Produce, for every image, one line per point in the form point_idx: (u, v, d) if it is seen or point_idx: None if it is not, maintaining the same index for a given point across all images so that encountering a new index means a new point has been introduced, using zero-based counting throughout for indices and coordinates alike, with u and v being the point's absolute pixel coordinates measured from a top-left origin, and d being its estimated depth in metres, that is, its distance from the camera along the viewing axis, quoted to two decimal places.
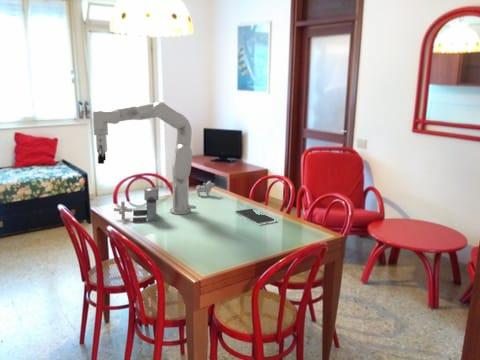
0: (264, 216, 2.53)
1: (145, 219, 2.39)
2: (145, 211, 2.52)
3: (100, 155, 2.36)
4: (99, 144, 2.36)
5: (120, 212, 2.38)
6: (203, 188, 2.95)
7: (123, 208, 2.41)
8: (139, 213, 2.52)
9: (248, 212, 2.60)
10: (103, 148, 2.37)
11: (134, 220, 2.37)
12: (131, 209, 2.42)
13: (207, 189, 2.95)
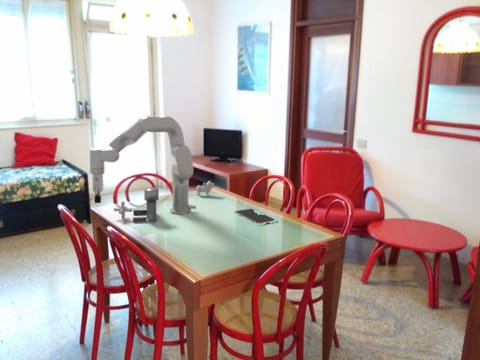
0: (264, 216, 2.54)
1: (145, 219, 2.39)
2: (145, 211, 2.52)
3: (97, 195, 2.35)
4: (95, 183, 2.31)
5: (120, 212, 2.38)
6: (203, 188, 2.95)
7: (123, 208, 2.41)
8: (139, 213, 2.52)
9: (247, 212, 2.60)
10: (99, 191, 2.33)
11: (134, 220, 2.37)
12: (131, 209, 2.42)
13: (207, 189, 2.95)
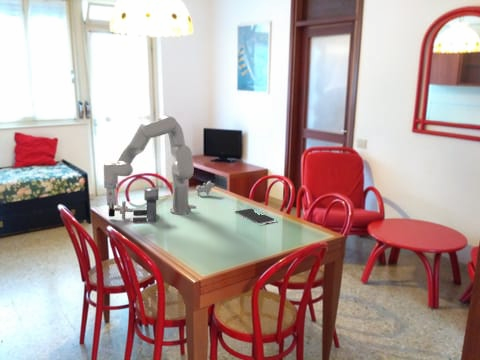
0: (264, 216, 2.54)
1: (145, 219, 2.39)
2: (145, 211, 2.52)
3: (111, 209, 2.38)
4: (109, 197, 2.34)
5: (121, 212, 2.38)
6: (203, 188, 2.95)
7: (124, 208, 2.41)
8: (139, 213, 2.52)
9: (247, 212, 2.60)
10: (113, 205, 2.37)
11: (134, 220, 2.37)
12: (132, 209, 2.42)
13: (207, 189, 2.95)
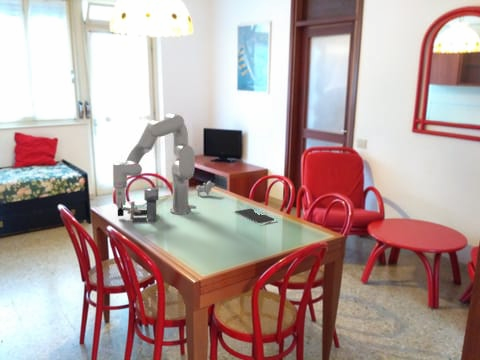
0: (264, 216, 2.54)
1: (145, 219, 2.39)
2: (145, 211, 2.52)
3: (120, 208, 2.39)
4: (119, 197, 2.35)
5: (128, 212, 2.38)
6: (203, 188, 2.95)
7: (132, 208, 2.42)
8: (139, 213, 2.52)
9: (247, 212, 2.60)
10: (123, 204, 2.38)
11: (134, 220, 2.37)
12: (140, 210, 2.42)
13: (207, 189, 2.95)
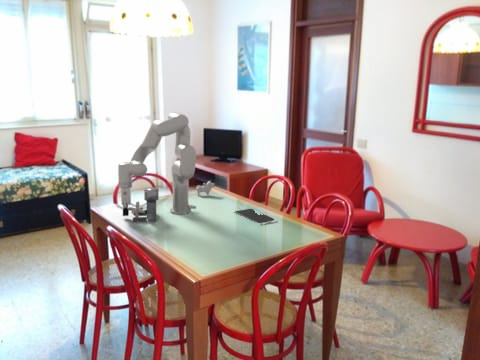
0: (264, 216, 2.54)
1: (145, 219, 2.39)
2: None
3: (125, 208, 2.40)
4: (124, 197, 2.36)
5: (132, 212, 2.38)
6: (203, 188, 2.95)
7: (137, 208, 2.42)
8: (139, 213, 2.52)
9: (247, 212, 2.60)
10: (128, 204, 2.38)
11: (134, 220, 2.37)
12: (144, 210, 2.41)
13: (207, 189, 2.95)
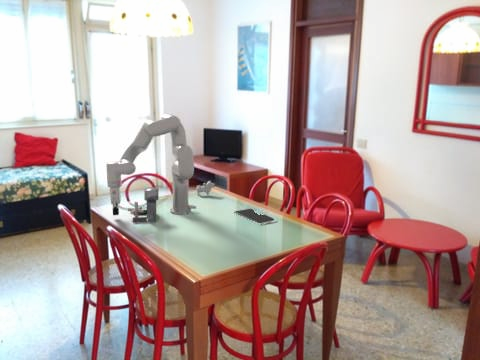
0: (264, 216, 2.54)
1: (145, 219, 2.39)
2: (145, 211, 2.52)
3: (115, 207, 2.39)
4: (113, 196, 2.35)
5: (131, 212, 2.38)
6: (203, 188, 2.95)
7: (136, 208, 2.42)
8: (139, 213, 2.52)
9: (247, 212, 2.60)
10: (117, 203, 2.37)
11: (134, 220, 2.37)
12: (143, 210, 2.41)
13: (207, 189, 2.95)
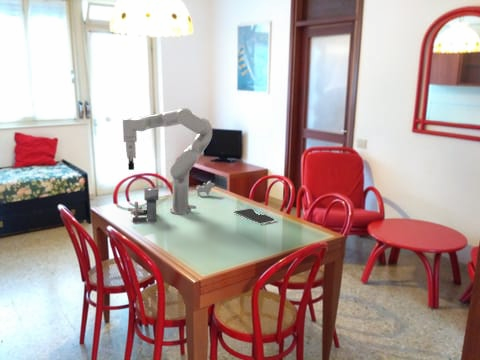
0: (264, 216, 2.54)
1: (145, 219, 2.39)
2: (145, 211, 2.52)
3: (131, 162, 2.52)
4: (130, 150, 2.47)
5: (132, 212, 2.38)
6: (203, 188, 2.95)
7: (136, 208, 2.42)
8: (139, 213, 2.52)
9: (247, 212, 2.60)
10: None
11: (134, 220, 2.37)
12: (143, 210, 2.41)
13: (207, 189, 2.95)
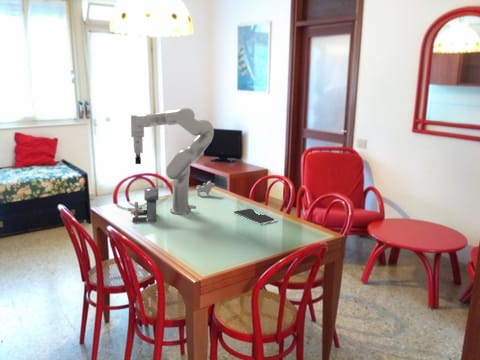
0: (264, 216, 2.54)
1: (145, 219, 2.39)
2: (145, 211, 2.52)
3: (137, 156, 2.60)
4: (137, 145, 2.55)
5: (132, 212, 2.38)
6: (203, 188, 2.95)
7: (136, 208, 2.42)
8: (139, 213, 2.52)
9: (246, 212, 2.60)
10: (140, 152, 2.58)
11: (134, 220, 2.37)
12: (143, 210, 2.41)
13: (207, 189, 2.95)
